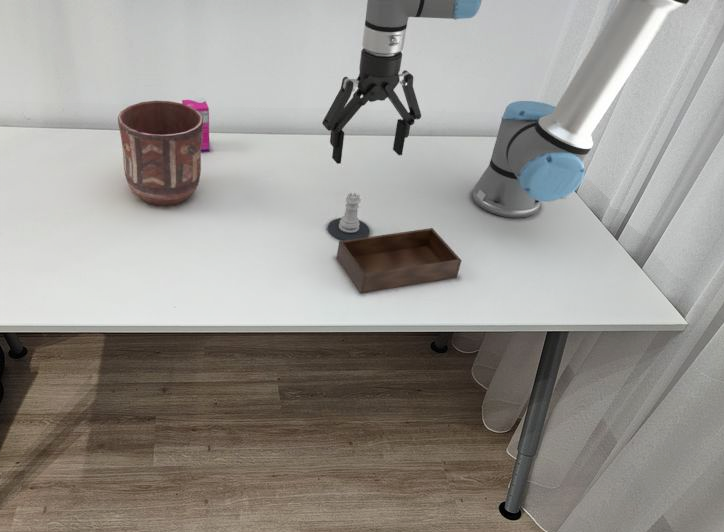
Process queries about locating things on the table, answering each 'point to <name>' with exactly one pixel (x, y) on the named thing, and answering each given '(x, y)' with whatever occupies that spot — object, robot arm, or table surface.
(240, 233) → the table surface
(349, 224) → the rook chess piece
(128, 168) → the pottery
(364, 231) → the coaster
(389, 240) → the tray
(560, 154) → the robot arm
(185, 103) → the supplement box
